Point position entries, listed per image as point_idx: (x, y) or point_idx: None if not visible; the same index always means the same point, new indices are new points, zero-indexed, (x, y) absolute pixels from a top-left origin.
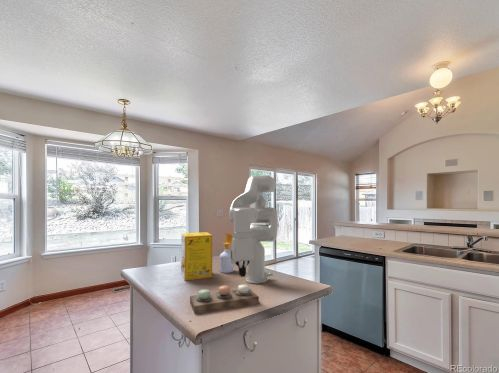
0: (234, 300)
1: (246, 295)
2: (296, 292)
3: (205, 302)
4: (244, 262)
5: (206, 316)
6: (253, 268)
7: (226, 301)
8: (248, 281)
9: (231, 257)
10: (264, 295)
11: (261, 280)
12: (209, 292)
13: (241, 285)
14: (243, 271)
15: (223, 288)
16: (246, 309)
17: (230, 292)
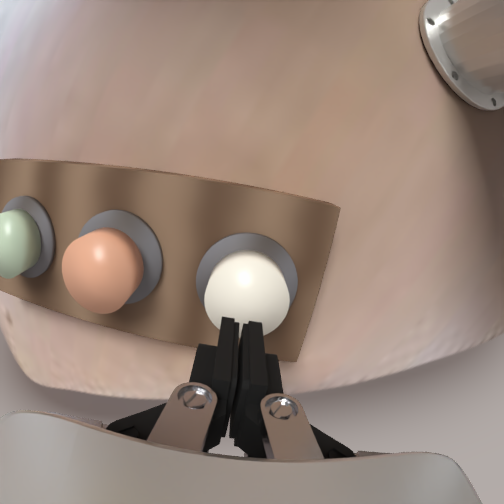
0: (152, 337)
1: None
2: (488, 306)
3: (28, 281)
4: (291, 448)
5: (46, 323)
6: (499, 43)
7: (110, 326)
8: (426, 40)
9: (11, 423)
10: (386, 266)
11: (483, 92)
12: (24, 265)
13: (244, 279)
14: (231, 409)
15: (83, 296)
16: None
17: (179, 214)
